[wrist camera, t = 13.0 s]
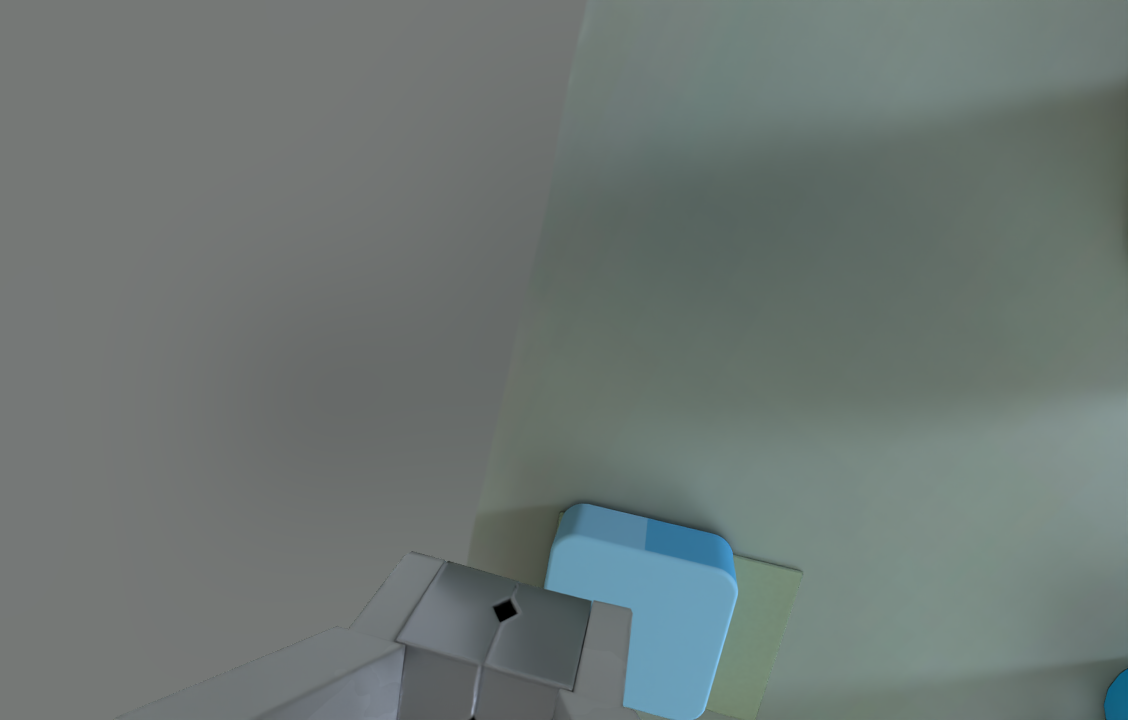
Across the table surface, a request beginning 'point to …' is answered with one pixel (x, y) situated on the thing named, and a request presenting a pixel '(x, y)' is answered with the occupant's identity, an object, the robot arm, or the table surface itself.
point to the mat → (751, 636)
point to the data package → (652, 599)
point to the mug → (1117, 699)
